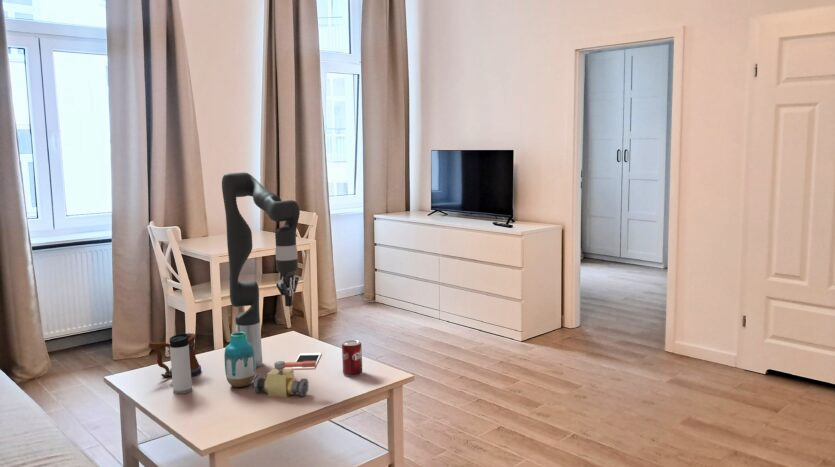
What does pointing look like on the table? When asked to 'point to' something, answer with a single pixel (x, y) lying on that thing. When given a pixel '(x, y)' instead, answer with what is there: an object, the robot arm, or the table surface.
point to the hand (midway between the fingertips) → (289, 305)
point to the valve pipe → (280, 383)
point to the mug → (193, 361)
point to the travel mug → (180, 363)
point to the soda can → (352, 358)
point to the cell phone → (307, 359)
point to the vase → (239, 360)
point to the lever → (294, 364)
